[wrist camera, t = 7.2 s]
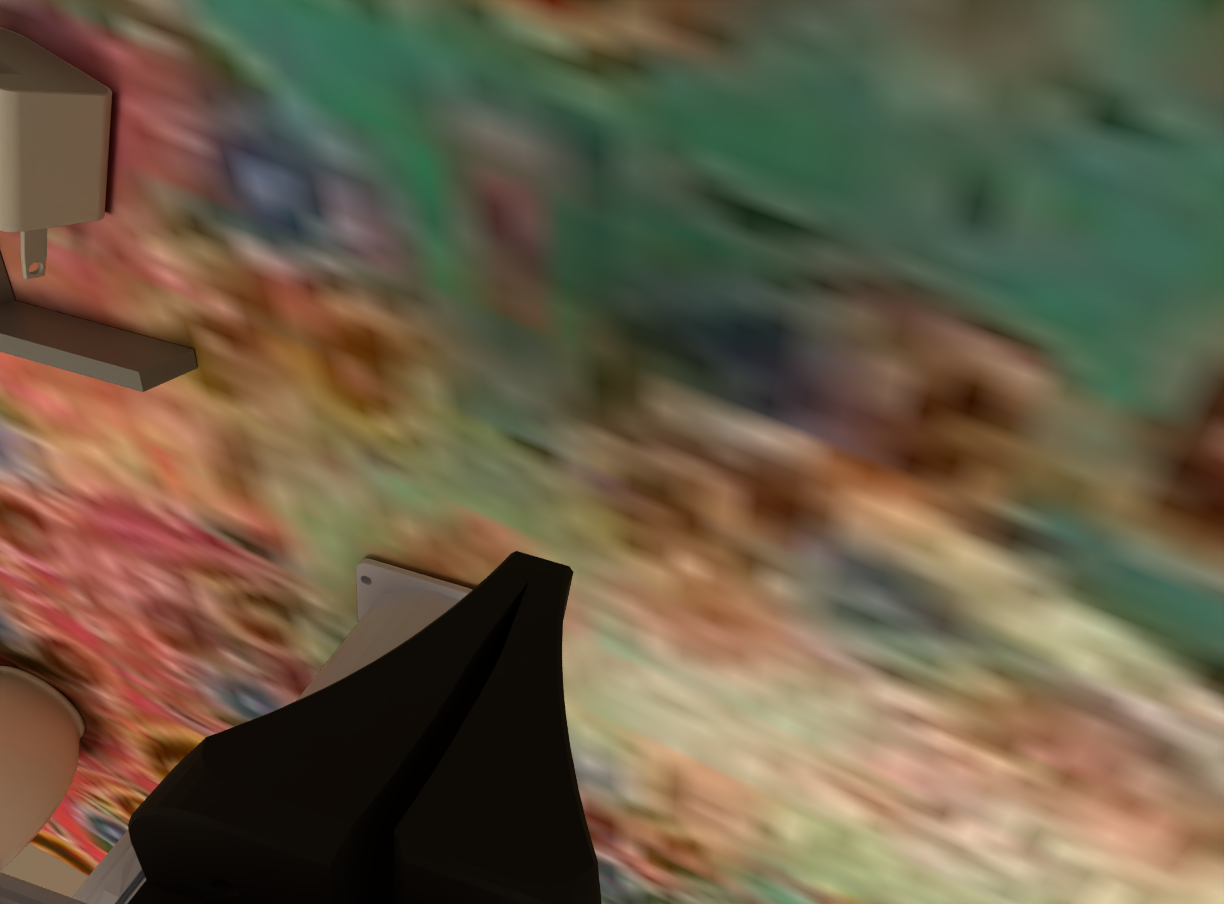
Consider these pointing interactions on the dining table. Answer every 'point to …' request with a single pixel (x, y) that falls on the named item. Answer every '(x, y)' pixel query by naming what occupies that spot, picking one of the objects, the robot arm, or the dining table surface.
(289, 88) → the dining table surface
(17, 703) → the lidded bowl
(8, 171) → the usb wall charger
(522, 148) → the dining table surface
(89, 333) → the charging bay
